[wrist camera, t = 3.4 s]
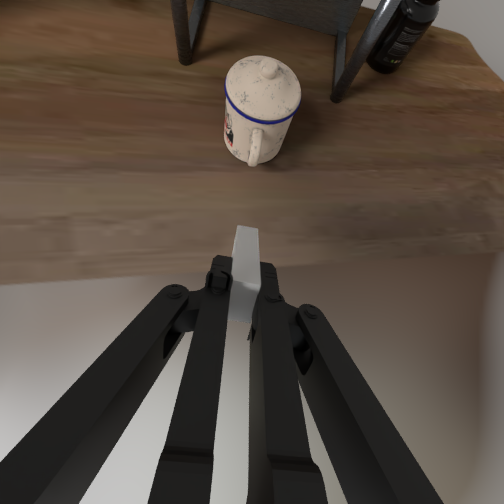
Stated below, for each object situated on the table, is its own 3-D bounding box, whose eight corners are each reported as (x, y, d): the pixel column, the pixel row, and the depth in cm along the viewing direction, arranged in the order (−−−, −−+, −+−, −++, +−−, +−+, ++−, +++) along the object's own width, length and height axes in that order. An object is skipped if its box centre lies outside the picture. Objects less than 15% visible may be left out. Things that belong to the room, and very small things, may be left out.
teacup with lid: (226, 108, 37) (231, 21, 26) (283, 120, 38) (312, 41, 27) (215, 178, 34) (216, 113, 23) (278, 188, 35) (308, 131, 24)
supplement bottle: (404, 61, 45) (468, -24, 34) (386, 81, 43) (448, -2, 32) (375, 39, 46) (429, -53, 34) (356, 58, 44) (407, -33, 32)
